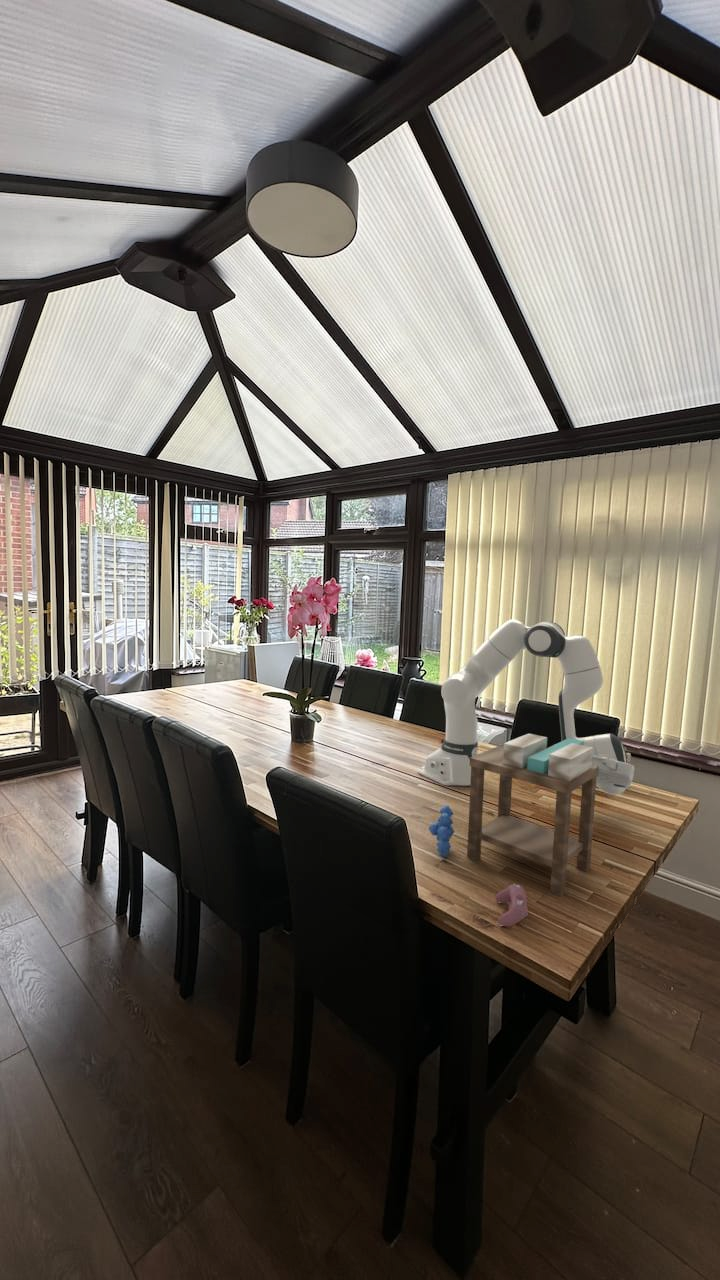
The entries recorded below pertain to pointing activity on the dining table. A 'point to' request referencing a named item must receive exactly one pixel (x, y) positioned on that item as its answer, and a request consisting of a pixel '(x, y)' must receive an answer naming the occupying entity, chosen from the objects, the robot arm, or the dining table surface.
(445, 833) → the grapes
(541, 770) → the module bar
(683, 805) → the dining table surface
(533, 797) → the dining table surface
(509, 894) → the video game controller
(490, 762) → the shelf
